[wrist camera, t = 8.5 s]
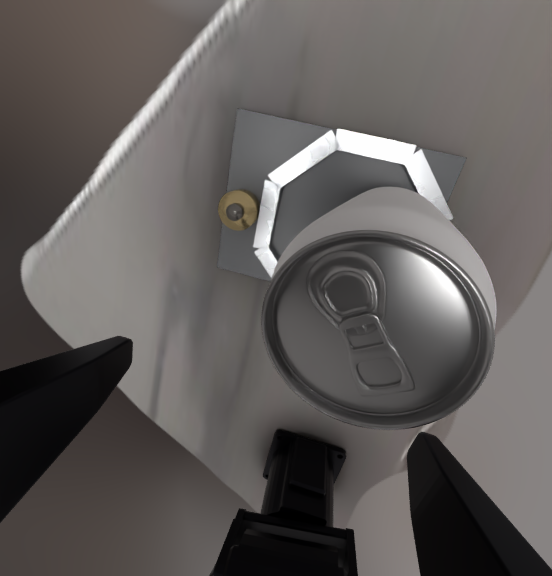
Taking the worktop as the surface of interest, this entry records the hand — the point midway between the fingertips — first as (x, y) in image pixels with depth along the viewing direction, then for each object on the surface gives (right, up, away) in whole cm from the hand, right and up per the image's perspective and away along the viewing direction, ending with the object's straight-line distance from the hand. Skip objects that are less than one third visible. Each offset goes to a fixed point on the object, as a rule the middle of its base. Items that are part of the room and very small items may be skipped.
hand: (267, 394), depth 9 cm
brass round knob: (-2, +9, +11) cm, 14 cm away
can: (+7, +6, +9) cm, 13 cm away
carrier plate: (+3, +8, +10) cm, 13 cm away
